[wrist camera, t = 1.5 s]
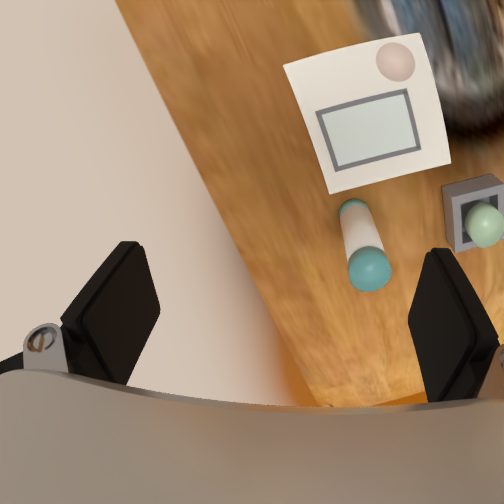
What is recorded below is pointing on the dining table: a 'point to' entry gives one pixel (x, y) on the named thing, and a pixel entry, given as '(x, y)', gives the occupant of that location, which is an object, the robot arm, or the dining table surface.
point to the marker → (363, 247)
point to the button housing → (468, 206)
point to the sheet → (371, 111)
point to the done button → (484, 224)
